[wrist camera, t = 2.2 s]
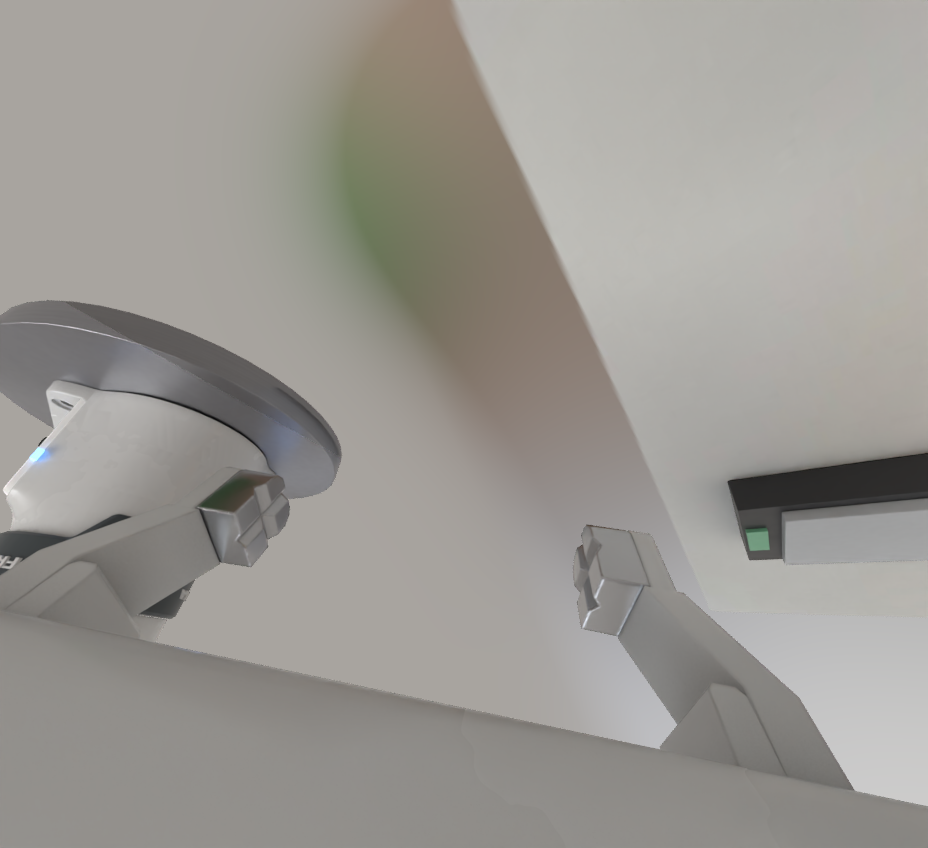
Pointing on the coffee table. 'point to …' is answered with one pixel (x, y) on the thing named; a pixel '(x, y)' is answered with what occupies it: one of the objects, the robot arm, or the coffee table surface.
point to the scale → (837, 513)
